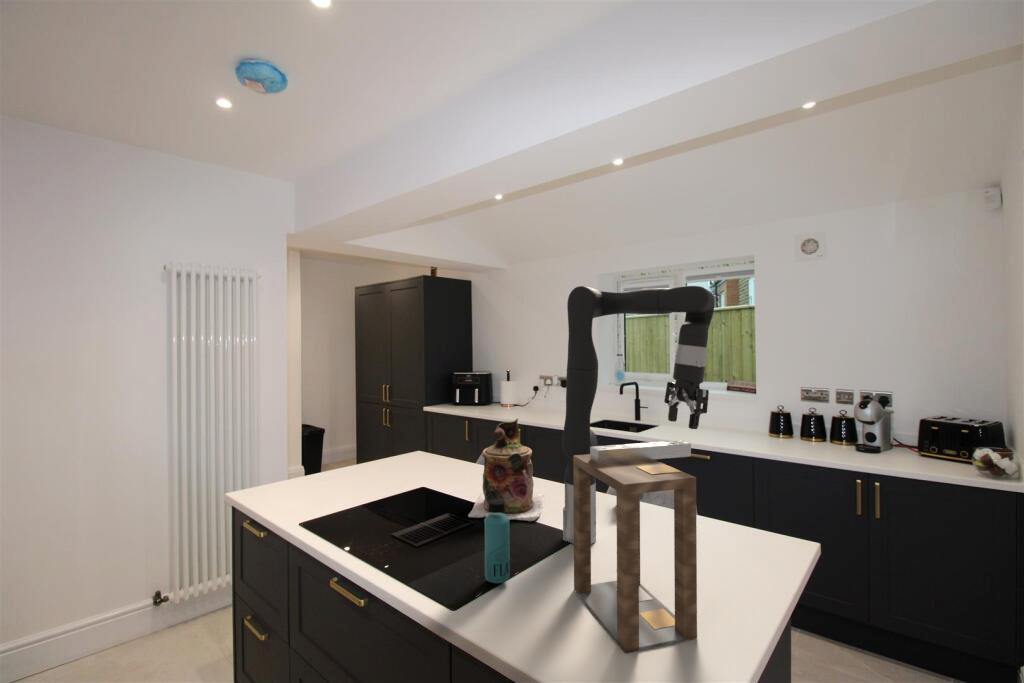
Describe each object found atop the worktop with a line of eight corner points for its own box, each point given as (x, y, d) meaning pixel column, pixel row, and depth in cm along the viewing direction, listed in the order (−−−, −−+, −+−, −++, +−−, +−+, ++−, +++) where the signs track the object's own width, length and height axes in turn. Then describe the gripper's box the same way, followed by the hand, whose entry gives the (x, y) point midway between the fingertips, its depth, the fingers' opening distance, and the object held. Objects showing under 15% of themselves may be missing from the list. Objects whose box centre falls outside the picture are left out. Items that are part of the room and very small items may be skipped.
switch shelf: (633, 580, 117) (633, 450, 117) (697, 638, 94) (696, 476, 94) (574, 589, 113) (573, 454, 113) (625, 653, 89) (624, 483, 90)
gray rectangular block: (680, 452, 115) (680, 440, 115) (690, 456, 111) (690, 443, 111) (590, 459, 108) (590, 446, 108) (598, 464, 105) (598, 450, 105)
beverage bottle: (491, 592, 112) (490, 507, 112) (479, 579, 117) (479, 499, 117) (515, 585, 115) (515, 503, 115) (503, 573, 120) (502, 495, 120)
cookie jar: (481, 496, 182) (480, 413, 182) (545, 498, 179) (544, 414, 179) (466, 519, 158) (466, 424, 158) (540, 523, 154) (539, 425, 154)
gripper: (661, 359, 129) (654, 418, 129) (695, 364, 115) (687, 430, 115) (684, 361, 131) (677, 419, 131) (721, 367, 117) (713, 432, 118)
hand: (682, 424), depth 123 cm, fingers open, 8 cm apart
